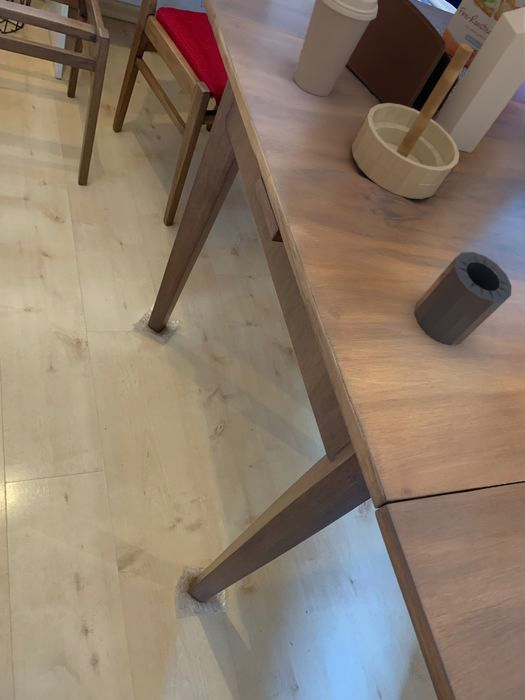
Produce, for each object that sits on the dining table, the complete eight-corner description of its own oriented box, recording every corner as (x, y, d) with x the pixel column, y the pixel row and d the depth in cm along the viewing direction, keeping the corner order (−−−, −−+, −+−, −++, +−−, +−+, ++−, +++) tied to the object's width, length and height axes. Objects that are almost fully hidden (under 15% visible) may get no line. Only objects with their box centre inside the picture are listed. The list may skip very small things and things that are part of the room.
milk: (441, 146, 92) (531, 10, 75) (431, 124, 96) (516, -11, 78) (471, 153, 94) (567, 22, 77) (461, 131, 97) (550, 1, 80)
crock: (465, 316, 70) (512, 269, 63) (460, 358, 65) (510, 312, 58) (416, 292, 70) (457, 242, 63) (407, 332, 65) (451, 283, 58)
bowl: (440, 166, 89) (463, 134, 84) (429, 217, 80) (454, 184, 75) (360, 124, 88) (378, 90, 83) (340, 172, 79) (358, 136, 74)
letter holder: (399, 122, 92) (448, 39, 81) (330, 51, 99) (366, -35, 88) (437, 117, 98) (487, 38, 87) (368, 49, 104) (407, -33, 93)
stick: (401, 163, 84) (474, 48, 70) (399, 170, 83) (472, 53, 69) (391, 158, 84) (461, 41, 70) (389, 164, 83) (460, 46, 69)
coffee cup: (331, 110, 88) (375, 13, 76) (277, 81, 87) (313, -21, 76) (345, 85, 94) (389, -9, 82) (295, 58, 93) (331, -40, 82)
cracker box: (434, 47, 114) (499, -68, 98) (444, 40, 118) (509, -72, 102) (491, 85, 113) (567, -26, 96) (499, 77, 116) (573, -31, 100)
